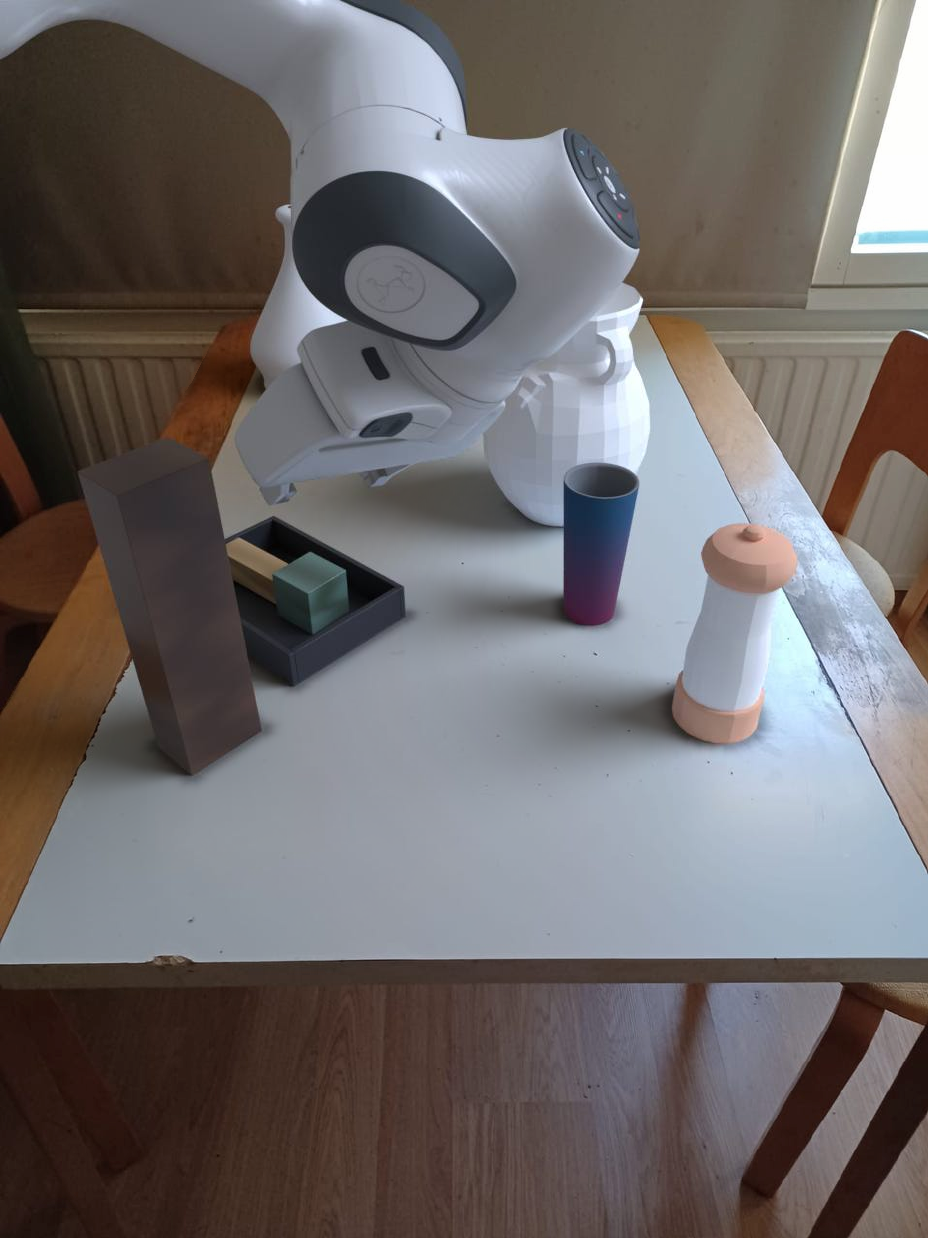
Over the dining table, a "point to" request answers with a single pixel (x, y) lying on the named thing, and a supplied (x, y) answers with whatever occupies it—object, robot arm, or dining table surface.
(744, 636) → the pepper shaker
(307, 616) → the scrub brush
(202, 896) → the dining table surface
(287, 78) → the robot arm
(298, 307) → the vase
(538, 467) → the pitcher
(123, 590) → the shelf post
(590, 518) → the cup
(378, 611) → the pan
